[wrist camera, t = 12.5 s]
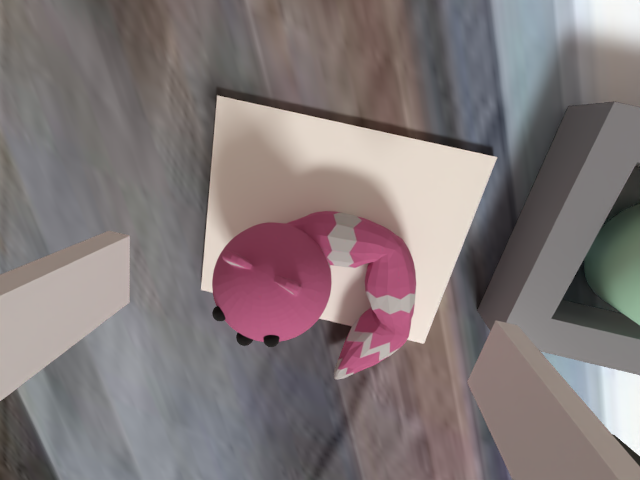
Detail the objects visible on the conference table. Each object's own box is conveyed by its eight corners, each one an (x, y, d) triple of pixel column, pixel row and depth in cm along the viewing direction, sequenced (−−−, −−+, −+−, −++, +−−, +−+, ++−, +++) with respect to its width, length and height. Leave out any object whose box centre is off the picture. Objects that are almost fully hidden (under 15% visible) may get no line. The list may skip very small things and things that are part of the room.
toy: (220, 320, 22) (143, 320, 12) (279, 210, 24) (254, 135, 14) (370, 396, 21) (415, 462, 11) (418, 274, 23) (493, 239, 13)
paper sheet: (203, 287, 21) (201, 289, 21) (220, 96, 17) (217, 95, 17) (422, 339, 21) (423, 343, 21) (494, 156, 17) (497, 157, 16)
